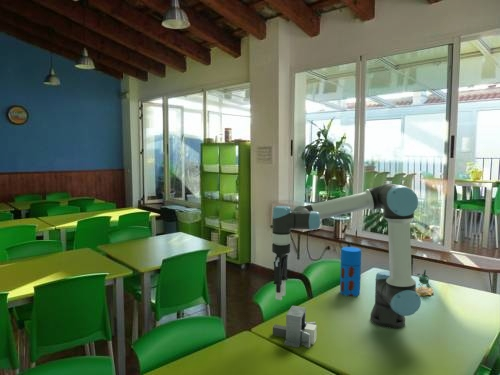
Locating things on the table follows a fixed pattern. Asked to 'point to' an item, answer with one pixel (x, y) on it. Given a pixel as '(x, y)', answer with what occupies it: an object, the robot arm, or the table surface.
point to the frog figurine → (423, 290)
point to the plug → (309, 328)
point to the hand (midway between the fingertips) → (280, 297)
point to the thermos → (350, 271)
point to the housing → (297, 327)
